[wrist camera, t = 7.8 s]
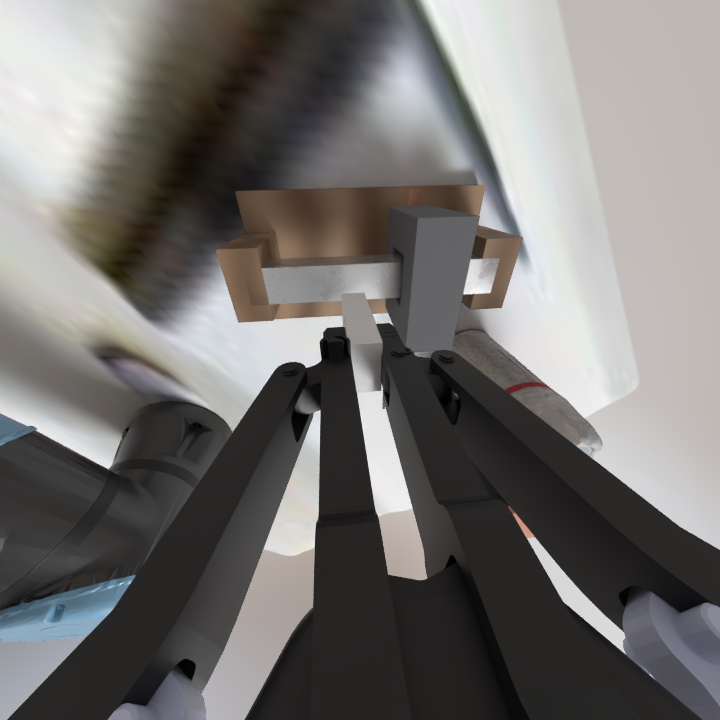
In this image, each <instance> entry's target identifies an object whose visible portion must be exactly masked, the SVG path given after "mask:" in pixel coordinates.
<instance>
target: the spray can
mask: <svg viewBox="0 0 720 720" xmlns="http://www.w3.org/2000/svg"><path fill="white" fill-rule="evenodd" d="M450 351H453V352H455V353H457V354H459V355H460V356H462V357H463V358H464V359H465V360H467V361H468V362H469V363H470V364H472V365H473V366H474V367H476V368H477V369H478V370H479V371H481V372H482V373H483V374H485V375H486V376H487V377H488V378H490V379H491V380H492V381H494V382H495V383H496V384H497V385H499V386H500V387H501V388H503V389H504V390H505V391H506V392H508V393H509V394H510V395H511V396H513V397H514V398H515V399H517V400H518V401H519V402H520V403H522V404H523V405H524V406H526V407H527V408H528V409H529V410H531V411H532V412H533V413H535V414H536V415H537V416H538V417H540V418H541V419H542V420H544V421H545V422H546V423H547V424H549V425H550V426H551V427H552V428H554V429H555V430H556V431H558V432H559V433H560V434H561V435H563V436H564V437H565V438H567V439H568V440H569V441H570V442H572V443H573V444H574V445H576V446H577V447H578V448H579V449H581V450H582V451H583V452H585V453H586V454H587V455H588V456H590V457H591V458H593V455H594V453H595V452H597V451H599V450H601V448H602V441H601V438H600V437H599V435H598V434H597V432H596V431H595V429H594V428H593V427H592V426H591V424H590V423H589V422H588V421H587V420H586V419H584V418H583V417H582V416H581V415H580V414H579V413H578V412H577V411H576V410H575V408H574V407H573V406H572V405H571V404H570V403H569V402H568V401H567V400H566V399H565V398H563V397H562V396H560V395H559V394H558V393H556V392H555V391H554V390H552V389H551V388H550V387H549V386H547V385H546V384H545V383H544V382H542V381H541V380H540V379H539V378H538V377H537V376H535V375H534V374H533V373H532V372H531V371H530V370H528V369H527V368H526V367H525V366H524V365H522V364H521V363H520V362H519V361H518V360H517V359H516V358H515V357H514V356H512V355H511V354H509V353H508V352H507V351H506V350H505V349H504V348H502V346H500V345H499V344H498V343H496V342H495V341H494V340H493V339H492V338H490V337H489V336H488V335H487V334H486V333H485V332H483V331H481V330H466V331H461V332H459V333H457V334H456V335H455V336H454V340H453V345H452V350H450Z"/></svg>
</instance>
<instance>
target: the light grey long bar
mask: <svg viewBox="0 0 720 720" xmlns="http://www.w3.org/2000/svg"><path fill="white" fill-rule="evenodd" d="M499 259H500V258H499ZM499 259H496V258H493V260H495V262H494V261H493V260H492V258H491V260H490V259H488V260H487V259H482V258H480V257H478V256H476V255H474V254H472V255H471V260H470V265H469V269H468V274H467V279H466V284H465V288H464V293H463V294H482V293H490V292H491V289H492V287H491V286H492V285H493V281H494V278H495V277H494V276H495V274H496V273H495V272H496V271H495V270H492V269H491V268H493V269H496V268H497V267H498V265H497V264H498V263H497V262H499ZM496 260H497V261H496ZM485 261H486V262H485ZM403 262H404V256H403V255H402V254H385V255H360V256H336V257H312V258H287V259H269V260H268V261H267V262H266V263H265V265H264V266H263V267H262V268H261V269H262V273H263V278H264V282H265V287H266V290H265V291H267V295H268V300H269V304H288V303H308V302H327V301H342V300H341V294H345V293H363V292H364V293H365V296H366V299H385V298H401V290H402V276H403ZM482 263H483V264H484V263H485V264H484V265H483V264H482ZM488 263H489V264H490V265H492V264H493V263H495V264H493V265H492V267H491V268H490V265H489V264H488ZM496 263H497V264H496ZM482 265H483V266H482ZM487 265H488V266H487ZM494 265H495V266H496V265H497V266H496V267H495V266H494ZM481 266H482V267H481ZM484 266H485V267H484ZM486 266H487V267H488V269H489V270H488V269H487V268H486ZM483 268H486V269H483ZM485 270H487V271H488V272H489V271H490V272H491V273H492V274H493V275H492V274H491V273H490V272H489V273H488V272H487V271H485ZM496 270H497V269H496ZM479 271H480V272H479ZM481 271H482V272H481ZM493 272H494V273H493ZM480 273H481V274H480ZM483 273H484V274H483ZM482 274H483V275H482ZM487 275H488V276H487ZM252 276H253V275H252ZM478 276H479V277H478ZM480 276H481V277H480ZM485 276H486V277H485ZM488 277H489V278H488ZM490 278H491V279H490ZM489 279H490V280H492V283H489V281H490V280H489ZM488 280H489V281H488ZM480 281H482V283H481V282H480ZM251 282H252V281H251ZM483 283H484V284H485V283H486V284H485V285H484V284H483ZM249 285H250V284H249ZM255 286H256V285H255ZM477 286H478V287H477ZM480 286H481V287H480ZM485 286H486V287H485ZM484 287H485V288H484ZM256 288H257V287H256ZM482 289H483V290H482ZM263 290H264V289H263ZM248 291H249V289H248ZM262 294H263V293H262ZM252 295H253V293H252ZM262 296H263V295H262ZM259 297H260V299H261V296H259ZM249 298H250V297H249ZM251 299H252V297H251ZM255 299H256V298H255ZM262 300H264V299H263V298H262ZM253 301H254V299H253ZM258 301H259V300H258ZM264 302H265V301H264ZM256 303H257V301H256ZM265 303H266V302H265ZM265 303H264V305H265ZM252 305H253V304H252ZM254 305H255V303H254Z"/></svg>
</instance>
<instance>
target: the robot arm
mask: <svg viewBox="0 0 720 720" xmlns="http://www.w3.org/2000/svg"><path fill="white" fill-rule="evenodd" d="M341 300H342V316H343V327H335V328H327V329H326V330H325V331H324V332H323V339H321V341H320V350H321V358H322V360H321V362H319V363H318V364H316V365H315V366H312V367H309V368H306V367H305V366H304V365H303V364H301V363H298V362H289V363H285V364H283V365H281V366H279V367H278V368H277V369H276V370H275V371H274V372H273V374H272V375H271V377H270V378H269V380H268V381H267V383H266V384H265V386H264V387H263V389H262V390H261V392H260V393H259V395H258V396H257V398H256V399H255V400H254V402H253V403H252V405H251V406H250V408H249V409H248V411H247V412H246V414H245V415H244V417H243V418H242V420H241V421H240V423H239V424H238V426H237V427H236V428H235V430H234V431H233V433H232V431H231V429H230V428H229V426H228V425H227V424H226V423H225V422H224V421H223V420H222V419H221V418H220V417H218V416H217V415H215V414H214V413H212V412H210V411H208V410H206V409H204V408H201V407H198V406H195V405H191V404H187V403H180V402H160V403H155V404H151V405H148V406H146V407H144V408H142V409H141V410H139V411H138V412H137V413H136V414H135V415H134V417H133V418H132V419H131V420H130V421H129V422H128V424H127V425H126V427H125V429H124V431H123V434H122V439H121V441H120V444H119V446H118V449H117V452H116V455H115V458H114V461H113V464H112V466H111V467H110V468H109V470H108V469H107V468H105V467H103V466H101V465H99V464H97V463H95V462H93V461H91V460H89V459H88V458H86V457H84V456H82V455H80V454H78V453H76V452H75V451H73V450H71V449H69V448H67V447H65V446H63V445H62V444H60V443H58V442H56V441H54V440H52V439H50V438H49V437H47V436H45V435H43V434H41V433H39V432H37V431H36V429H37V428H36V427H34V426H26V425H24V424H22V423H19V422H17V421H15V420H13V419H11V418H9V417H7V416H4V415H2V414H0V641H5V642H7V641H8V642H23V641H24V642H26V641H45V640H57V639H65V638H75V637H82V636H87V637H86V638H85V639H84V640H83V641H82V642H81V643H80V644H79V645H78V646H77V648H76V649H75V650H74V651H73V652H72V653H71V654H70V655H69V656H68V657H67V658H66V659H65V660H64V661H63V662H62V663H61V664H60V665H59V666H58V667H57V669H56V670H55V671H54V672H53V673H52V674H51V675H50V676H49V677H48V678H47V679H46V680H45V681H44V682H43V683H42V684H41V685H40V686H39V687H38V688H37V689H36V690H35V692H33V693H32V695H31V696H30V697H29V698H28V699H27V700H26V701H25V702H24V703H23V704H22V705H21V706H20V707H19V708H18V709H17V710H16V711H15V712H14V713H13V714H12V715H11V716H10V717H9V719H8V720H206V709H205V703H204V698H203V696H202V695H201V693H202V691H203V690H204V688H205V686H206V684H207V683H208V681H209V679H210V677H211V675H212V673H213V671H214V669H215V667H216V665H217V663H218V661H219V658H220V657H221V655H222V652H223V651H224V648H225V646H226V643H227V641H228V639H229V637H230V634H231V632H232V629H233V627H234V625H235V622H236V620H237V616H238V614H239V612H240V609H241V606H242V604H243V601H244V599H245V596H246V593H247V591H248V588H249V585H250V583H251V580H252V577H253V575H254V572H255V569H256V567H257V564H258V561H259V559H260V556H261V553H262V551H263V548H264V545H265V543H266V540H267V537H268V535H269V532H270V529H271V527H272V524H273V522H274V519H275V516H276V514H277V511H278V508H279V506H280V503H281V500H282V498H283V495H284V492H285V490H286V487H287V484H288V482H289V479H290V476H291V474H292V471H293V468H294V466H295V463H296V460H297V458H298V455H299V452H300V450H301V447H302V444H303V442H304V439H305V437H306V434H307V431H308V429H309V426H310V423H311V421H312V418H313V412H316V411H319V410H321V423H320V478H319V517H318V521H317V523H316V533H315V564H314V565H315V566H314V602H313V608H312V609H311V610H310V611H309V612H308V613H307V614H306V615H305V616H304V618H303V619H302V620H301V621H300V623H299V624H298V626H297V627H296V629H295V630H294V631H293V633H292V635H291V636H290V638H289V640H288V642H287V643H286V645H285V647H284V649H283V650H282V653H281V654H280V656H279V658H278V660H277V662H276V663H275V665H274V667H273V669H272V671H271V672H270V674H269V676H268V678H267V680H266V682H265V684H264V685H263V687H262V689H261V691H260V693H259V695H258V696H257V698H256V700H255V702H254V704H253V705H252V707H251V709H250V711H249V713H248V715H247V717H246V718H245V720H720V550H719V549H717V548H715V547H714V546H712V545H710V544H709V543H707V542H705V541H703V540H702V539H700V538H698V537H696V536H695V535H693V534H691V533H689V532H688V531H686V530H684V529H683V528H681V527H679V526H678V525H677V524H675V523H674V522H673V521H671V520H670V519H669V518H668V517H666V516H665V515H664V514H663V513H661V512H660V511H658V509H656V508H655V507H654V506H652V505H651V504H650V503H648V502H647V501H646V500H645V499H643V498H642V497H641V496H640V495H638V494H637V493H636V492H634V491H633V490H632V489H630V488H629V487H628V486H627V485H626V484H624V483H623V482H621V481H620V480H619V479H618V478H617V477H615V476H614V475H613V474H611V473H610V472H609V471H608V470H606V469H605V468H604V467H602V466H601V465H600V464H599V463H597V462H596V461H595V460H593V459H592V458H591V457H590V456H588V455H587V454H586V453H585V452H583V451H582V450H581V449H579V448H578V447H577V446H576V445H574V444H573V443H572V442H570V441H569V440H568V439H567V438H565V437H564V436H563V435H561V434H560V433H559V432H558V431H556V430H555V429H554V428H552V427H551V426H550V425H549V424H547V423H546V422H545V421H544V420H542V419H541V418H540V417H538V416H537V415H536V414H535V413H533V412H532V411H531V410H529V409H528V408H527V407H526V406H524V405H523V404H522V403H520V402H519V401H518V400H517V399H515V398H514V397H513V396H511V395H510V394H509V393H508V392H506V391H505V390H504V389H503V388H501V387H500V386H499V385H497V384H496V383H495V382H494V381H492V380H491V379H490V378H488V377H487V376H486V375H485V374H483V373H482V372H481V371H479V370H478V369H477V368H476V367H474V366H473V365H472V364H470V363H469V362H468V361H467V360H465V359H464V358H463V357H462V356H460V355H459V354H457V353H455V352H453V351H450V350H437V351H435V352H433V353H432V354H431V358H423V357H417V356H415V355H414V353H413V351H412V350H411V349H410V348H408V347H405V346H404V344H403V342H402V340H401V338H400V336H399V334H398V332H397V330H396V328H395V327H394V326H393V325H391V324H390V323H384V324H376V323H375V320H374V317H373V315H372V312H371V309H370V307H369V304H368V301H367V299H366V296H365V293H364V292H363V293H345V294H341ZM381 383H382V386H383V409H385V407H386V410H387V414H388V418H389V422H390V425H391V429H392V433H393V436H394V440H395V444H396V448H397V451H398V455H399V459H400V462H401V466H402V470H403V474H404V477H405V481H406V485H407V488H408V492H409V496H410V500H411V503H412V507H413V511H414V514H415V518H416V522H417V526H418V529H419V533H420V537H421V540H422V544H423V548H424V555H425V567H426V573H427V578H428V579H426V580H421V581H420V580H414V579H408V578H403V577H397V576H392V575H388V572H387V566H386V560H385V554H384V547H383V541H382V536H381V529H380V524H379V519H378V515H377V513H376V511H375V506H374V500H373V494H372V487H371V481H370V475H369V468H368V462H367V455H366V449H365V443H364V436H363V430H362V423H361V417H360V411H359V404H358V398H357V393H358V392H369V391H380V390H381ZM454 393H456V394H457V395H458V396H459V398H457V397H456V396H455V395H454ZM468 456H469V457H468ZM469 458H470V459H471V460H472V461H473V463H474V464H475V465H476V466H477V467H478V469H479V470H480V471H481V472H482V473H483V475H484V476H485V477H486V478H487V479H488V481H489V482H490V483H491V484H492V485H493V487H494V488H495V489H496V490H497V492H498V493H499V494H500V495H501V496H502V498H503V499H504V500H505V501H506V502H507V504H508V505H509V506H510V507H511V508H512V510H513V511H514V512H515V513H516V514H517V516H518V517H519V518H520V519H521V521H522V522H523V523H524V524H525V525H526V527H527V528H528V529H529V530H530V531H531V533H532V534H533V535H534V536H535V537H536V539H537V540H538V541H539V542H540V544H541V545H542V546H543V547H544V548H545V549H546V551H547V552H548V553H549V554H550V556H551V557H552V558H553V559H554V560H555V562H556V563H557V564H558V565H559V566H560V568H561V569H562V570H563V571H564V572H565V573H566V575H567V576H568V577H569V578H570V579H571V580H572V581H573V583H574V584H575V585H576V586H577V587H578V588H579V589H580V590H581V592H582V593H583V594H584V595H585V596H586V597H587V598H588V599H589V600H590V601H591V602H592V603H593V604H594V605H595V606H596V607H597V608H599V610H601V612H602V613H603V614H604V615H605V616H607V617H608V618H609V619H610V620H611V621H612V622H613V623H614V624H616V625H617V626H618V627H619V628H620V629H621V630H622V631H623V632H624V633H625V637H626V638H625V639H624V640H623V647H624V650H625V652H626V655H625V654H624V653H623V652H622V651H621V650H619V649H618V648H617V647H616V646H615V645H614V644H612V643H611V642H610V641H609V640H608V639H606V638H605V637H604V636H603V635H602V634H600V633H599V632H598V631H597V630H596V629H595V628H593V627H592V626H591V625H590V624H589V623H588V622H586V621H585V620H584V619H583V618H582V617H580V616H579V615H578V614H577V613H576V612H575V611H573V610H572V609H571V608H570V607H569V606H567V605H566V604H565V603H564V602H563V601H562V599H561V597H560V596H559V594H558V592H557V590H556V589H555V587H554V585H553V584H552V582H551V580H550V578H549V576H548V575H547V573H546V571H545V569H544V568H543V566H542V564H541V563H540V561H539V559H538V557H537V555H536V554H535V552H534V550H533V548H532V547H531V545H530V543H529V542H528V540H527V538H526V536H525V534H524V533H523V531H522V529H521V527H520V526H519V524H518V522H517V520H516V519H515V517H514V515H513V513H512V512H511V511H510V509H509V508H508V506H507V505H506V504H505V503H504V502H503V501H502V500H501V499H497V498H493V497H491V496H490V495H489V494H488V492H487V491H486V489H485V487H484V485H483V483H482V481H481V480H480V478H479V476H478V474H477V472H476V470H475V468H474V466H473V464H472V463H471V461H470V459H469Z"/></svg>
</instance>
